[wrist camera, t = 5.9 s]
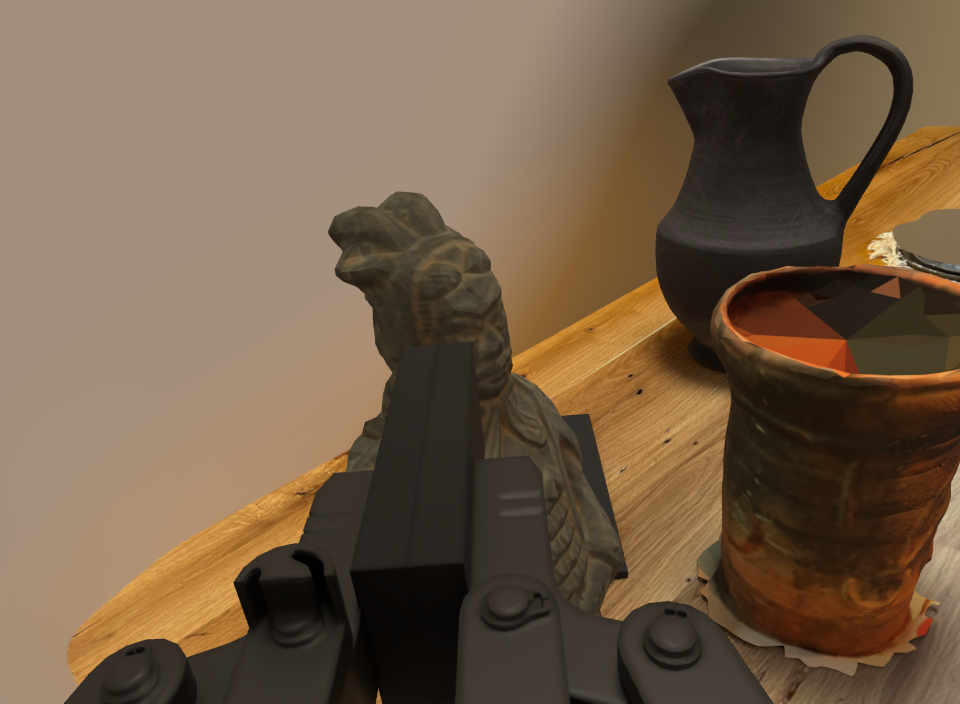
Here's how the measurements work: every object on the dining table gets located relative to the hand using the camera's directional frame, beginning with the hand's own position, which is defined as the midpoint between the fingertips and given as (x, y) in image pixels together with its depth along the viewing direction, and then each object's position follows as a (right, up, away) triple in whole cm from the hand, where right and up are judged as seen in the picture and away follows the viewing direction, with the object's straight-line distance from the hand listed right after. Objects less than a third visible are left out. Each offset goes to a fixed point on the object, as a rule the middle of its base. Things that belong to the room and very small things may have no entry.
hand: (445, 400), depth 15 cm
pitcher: (+30, +1, +58) cm, 65 cm away
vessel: (+22, -15, +29) cm, 39 cm away
